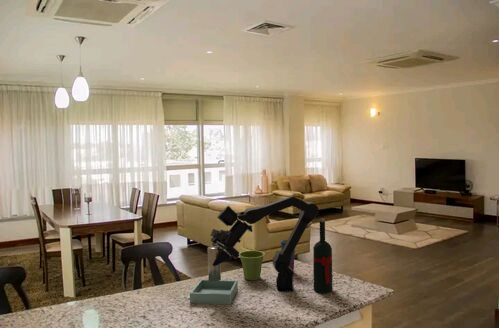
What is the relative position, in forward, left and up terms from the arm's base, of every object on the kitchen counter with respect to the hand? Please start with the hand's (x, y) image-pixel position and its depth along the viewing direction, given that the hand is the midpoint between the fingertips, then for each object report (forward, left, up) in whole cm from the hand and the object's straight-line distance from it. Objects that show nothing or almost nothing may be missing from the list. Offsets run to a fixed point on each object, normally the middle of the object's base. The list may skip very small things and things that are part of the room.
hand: (211, 263), depth 163 cm
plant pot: (-13, -24, -14) cm, 30 cm away
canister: (-1, -1, -7) cm, 7 cm away
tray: (-1, -1, -13) cm, 13 cm away
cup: (-29, -34, -14) cm, 47 cm away
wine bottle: (-45, -11, -14) cm, 48 cm away
